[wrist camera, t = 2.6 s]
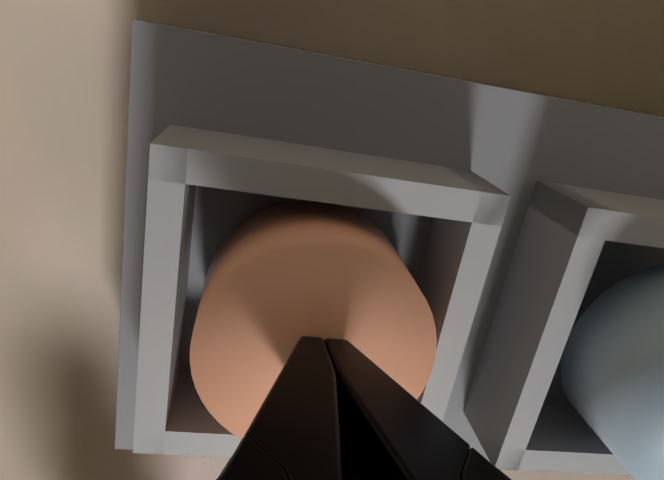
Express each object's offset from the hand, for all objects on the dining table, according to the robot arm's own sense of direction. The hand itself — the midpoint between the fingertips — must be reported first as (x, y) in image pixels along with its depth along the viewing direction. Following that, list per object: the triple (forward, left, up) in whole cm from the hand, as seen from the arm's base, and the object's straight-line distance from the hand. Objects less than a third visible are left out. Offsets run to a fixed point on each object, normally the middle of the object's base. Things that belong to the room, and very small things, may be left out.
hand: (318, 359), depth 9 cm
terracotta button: (0, 0, -2) cm, 2 cm away
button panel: (-8, 0, -6) cm, 10 cm away
